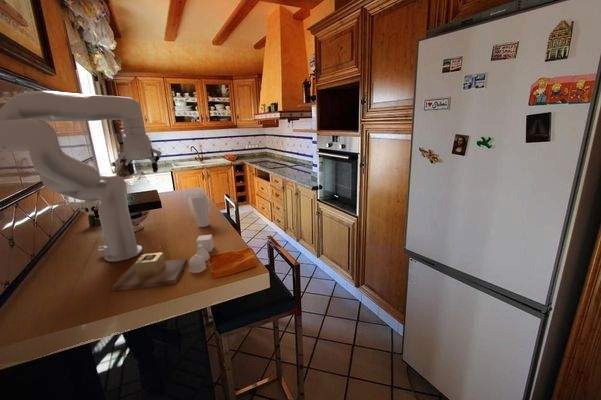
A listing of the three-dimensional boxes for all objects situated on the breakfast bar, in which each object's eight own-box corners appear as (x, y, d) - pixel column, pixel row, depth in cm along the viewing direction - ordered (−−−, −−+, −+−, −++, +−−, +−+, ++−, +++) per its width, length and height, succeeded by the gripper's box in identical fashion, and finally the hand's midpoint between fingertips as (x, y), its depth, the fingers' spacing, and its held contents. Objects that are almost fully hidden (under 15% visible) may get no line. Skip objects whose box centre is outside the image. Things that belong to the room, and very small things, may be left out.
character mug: (81, 228, 143) (74, 204, 139) (87, 224, 149) (80, 200, 146) (106, 225, 146) (100, 201, 142) (110, 221, 152) (105, 197, 149)
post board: (113, 291, 85) (108, 271, 83) (134, 268, 98) (129, 251, 96) (175, 283, 86) (171, 264, 85) (187, 262, 100) (184, 245, 98)
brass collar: (137, 277, 89) (134, 263, 87) (145, 267, 95) (142, 254, 93) (158, 275, 89) (155, 261, 88) (165, 265, 95) (162, 252, 94)
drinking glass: (213, 224, 137) (209, 194, 133) (202, 229, 132) (197, 198, 128) (204, 222, 141) (200, 193, 137) (193, 227, 135) (188, 196, 131)
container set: (200, 248, 111) (198, 235, 110) (214, 247, 112) (212, 234, 110) (188, 274, 92) (185, 259, 91) (204, 272, 93) (202, 257, 91)
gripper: (108, 133, 113) (118, 176, 117) (153, 131, 114) (161, 172, 119) (117, 133, 120) (126, 173, 124) (160, 130, 122) (167, 169, 126)
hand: (143, 172), depth 122 cm, fingers open, 9 cm apart
